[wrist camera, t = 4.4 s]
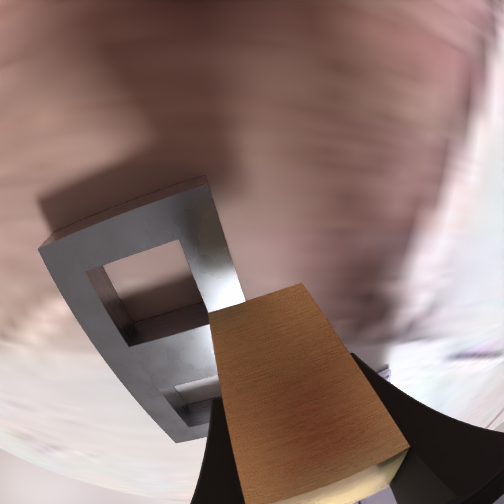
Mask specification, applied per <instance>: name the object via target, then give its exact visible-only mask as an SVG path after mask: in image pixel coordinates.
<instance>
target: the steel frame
mask: <svg viewBox="0 0 504 504" xmlns="http://www.w3.org/2000/svg"><path fill="white" fill-rule="evenodd" d="M177 239H179V240H180V242H181V245H182V248H183V250H184V253H185V255H186V258H187V261H188V263H189V266H190V268H191V271H192V273H193V276H194V278H195V281H196V283H197V286H198V288H199V291H200V293H201V296H202V298H203V301H204V302H201V303H198V304H195V305H191V306H188V307H185V308H182V309H178V310H175V311H172V312H169V313H165V314H162V315H159V316H155V317H152V318H148V319H145V320H142V321H138V322H135V323H133V322H132V320H131V319H130V317H129V315H128V313H127V312H126V310H125V308H124V306H123V304H122V303H121V301H120V299H119V297H118V295H117V293H116V291H115V290H114V288H113V286H112V284H111V282H110V280H109V278H108V276H107V274H106V272H105V270H104V268H103V266H102V265H105V264H108V263H111V262H113V261H116V260H119V259H122V258H125V257H128V256H130V255H133V254H136V253H139V252H142V251H145V250H148V249H151V248H154V247H157V246H159V245H162V244H165V243H168V242H171V241H174V240H177ZM38 251H39V253H40V255H41V257H42V259H43V261H44V263H45V265H46V267H47V269H48V271H49V272H50V274H51V276H52V278H53V280H54V282H55V283H56V285H57V287H58V289H59V291H60V292H61V294H62V296H63V298H64V299H65V301H66V303H67V304H68V306H69V308H70V309H71V311H72V313H73V314H74V316H75V317H76V319H77V321H78V322H79V324H80V325H81V327H82V328H83V330H84V331H85V333H86V334H87V336H88V337H89V339H90V340H91V342H92V343H93V345H94V346H95V347H96V349H97V350H98V352H99V353H100V354H101V356H102V357H103V359H104V360H105V361H106V363H107V364H108V365H109V367H110V368H111V369H112V371H113V372H114V373H115V375H116V376H117V377H118V378H119V380H120V381H121V382H122V383H123V385H124V386H125V387H126V388H127V390H128V391H129V392H130V393H131V395H132V396H133V397H134V398H135V399H136V400H137V402H138V403H139V404H140V405H141V406H142V407H143V409H144V410H145V411H146V412H147V413H148V414H149V415H150V416H151V418H152V419H153V420H154V421H155V422H156V423H157V424H158V425H159V426H160V427H161V428H162V429H163V430H164V431H165V433H166V434H167V435H168V436H169V437H170V438H171V439H172V440H173V441H174V442H175V443H179V442H185V441H190V440H195V439H199V438H204V437H207V436H208V429H209V421H210V409H211V401H212V400H213V399H216V398H213V399H209V400H205V401H201V402H197V403H193V404H189V405H186V403H185V402H184V401H183V399H182V398H181V396H180V395H179V394H178V392H177V391H176V389H175V388H174V387H173V386H176V385H180V384H184V383H188V382H192V381H196V380H200V379H203V378H207V377H211V376H214V375H218V372H217V366H216V360H215V355H214V349H213V343H212V336H211V330H210V324H209V317H208V313H209V312H213V311H216V310H219V309H222V308H226V307H229V306H232V305H235V304H238V303H242V302H245V299H244V296H243V293H242V290H241V287H240V283H239V280H238V277H237V274H236V271H235V268H234V265H233V262H232V258H231V255H230V252H229V249H228V246H227V242H226V239H225V236H224V233H223V230H222V226H221V223H220V220H219V217H218V214H217V210H216V207H215V204H214V200H213V197H212V194H211V191H210V187H209V184H208V181H207V178H206V175H203V176H200V177H197V178H194V179H191V180H188V181H185V182H182V183H179V184H176V185H173V186H170V187H167V188H164V189H161V190H158V191H156V192H153V193H150V194H147V195H144V196H142V197H139V198H136V199H134V200H131V201H128V202H126V203H123V204H120V205H118V206H115V207H113V208H110V209H108V210H105V211H103V212H100V213H98V214H95V215H93V216H90V217H88V218H86V219H83V220H81V221H79V222H76V223H74V224H72V225H69V226H67V227H65V228H62V229H60V230H58V231H56V232H54V233H53V234H52V235H51V236H50V237H49V238H48V239H47V240H46V241H45V242H44V243H43V244H42V245H41V246H40V247H39V248H38ZM221 397H222V396H221ZM217 398H220V397H217Z"/></svg>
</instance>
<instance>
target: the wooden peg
mask: <svg viewBox="0 0 504 504" xmlns="http://www.w3.org/2000/svg"><path fill="white" fill-rule="evenodd" d="M208 317H209V324H210V330H211V336H212V343H213V349H214V355H215V360H216V366H217V372H218V378H219V383H220V389H221V394H222V399H223V404H224V410H225V415H226V420H227V425H228V429H229V434H230V439H231V444H232V448H233V453H234V457H235V462H236V466H237V471H238V475H239V479H240V484H241V488H242V492H243V496H244V500H245V504H353V503H355V502H357V501H360V500H362V499H364V498H366V497H369V496H371V495H373V494H375V493H377V492H379V491H381V490H383V489H385V488H387V487H388V486H389V484H390V483H391V481H392V479H393V477H394V476H395V474H396V472H397V470H398V469H399V467H400V465H401V463H402V461H403V460H404V458H405V456H406V454H407V452H408V450H409V448H410V445H409V444H408V442H407V441H406V439H405V437H404V436H403V434H402V433H401V431H400V430H399V428H398V426H397V425H396V423H395V422H394V420H393V419H392V417H391V415H390V414H389V412H388V411H387V409H386V408H385V406H384V405H383V403H382V402H381V400H380V398H379V397H378V395H377V394H376V392H375V391H374V389H373V388H372V386H371V385H370V383H369V382H368V380H367V379H366V377H365V375H364V374H363V372H362V371H361V369H360V368H359V366H358V365H357V363H356V362H355V360H354V359H353V357H352V356H351V354H350V353H349V351H348V350H347V348H346V347H345V345H344V344H343V342H342V341H341V339H340V338H339V336H338V335H337V333H336V332H335V330H334V329H333V327H332V326H331V325H330V323H329V322H328V320H327V319H326V317H325V316H324V314H323V313H322V311H321V310H320V308H319V307H318V305H317V304H316V302H315V301H314V300H313V298H312V297H311V295H310V294H309V292H308V291H307V289H306V288H305V286H304V285H303V284H302V283H300V284H297V285H294V286H291V287H288V288H285V289H282V290H279V291H276V292H273V293H270V294H267V295H264V296H260V297H257V298H254V299H251V300H248V301H245V302H242V303H238V304H235V305H232V306H229V307H226V308H222V309H219V310H216V311H213V312H209V313H208Z"/></svg>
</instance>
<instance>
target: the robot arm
mask: <svg viewBox="0 0 504 504" xmlns="http://www.w3.org/2000/svg"><path fill="white" fill-rule="evenodd" d="M350 354H351V356H352V357H353V359H354V360H355V362H356V363H357V365H358V366H359V368H360V369H361V371H362V372H363V374H364V375H365V377H366V379H367V380H368V382H369V383H370V385H371V386H372V388H373V389H374V391H375V392H376V394H377V395H378V397H379V398H380V400H381V402H382V403H383V405H384V406H385V408H386V409H387V411H388V412H389V414H390V415H391V417H392V419H393V420H394V422H395V423H396V425H397V426H398V428H399V430H400V431H401V433H402V434H403V436H404V437H405V439H406V441H407V442H408V444H409V445H410V448H409V450H408V452H407V454H406V456H405V458H404V460H403V461H402V463H401V465H400V467H399V469H398V470H397V472H396V474H395V476H394V477H393V479H392V481H391V483H390V484H389V486H388V487H387V488H385V489H383V490H381V491H379V492H377V493H375V494H373V495H371V496H369V497H366V498H364V499H362V500H360V501H357V502H355V503H353V504H504V433H503V432H498V431H493V430H488V429H484V428H481V427H477V426H474V425H471V424H468V423H465V422H462V421H459V420H457V419H454V418H451V417H449V416H447V415H444V414H442V413H440V412H438V411H436V410H434V409H432V408H430V407H428V406H426V405H424V404H422V403H421V402H419V401H417V400H415V399H414V398H412V397H410V396H409V395H407V394H406V393H404V392H403V391H401V390H400V389H398V388H397V387H395V386H394V385H392V384H391V383H390V377H391V370H390V369H385V370H383V371H381V372H379V373H376V372H375V371H374V370H373V369H371V368H370V367H369V366H368V365H367V364H365V363H364V362H363V361H362V360H361V359H360V358H358V357H357V356H356V355H355V354H354V353H350ZM190 504H245V500H244V496H243V492H242V488H241V484H240V479H239V475H238V471H237V466H236V462H235V457H234V453H233V448H232V444H231V439H230V434H229V429H228V425H227V420H226V415H225V410H224V404H223V399H222V397H220V398H216V399H213V400H212V401H211V409H210V421H209V429H208V436H207V442H206V448H205V453H204V458H203V462H202V466H201V471H200V475H199V479H198V482H197V485H196V489H195V492H194V495H193V498H192V501H191V503H190Z"/></svg>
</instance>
